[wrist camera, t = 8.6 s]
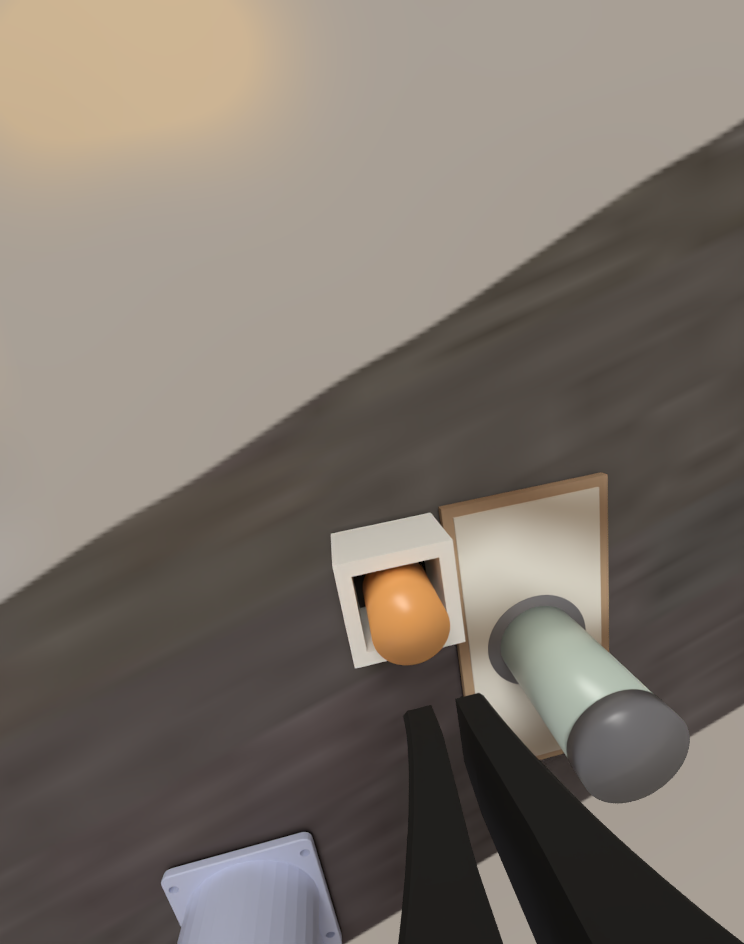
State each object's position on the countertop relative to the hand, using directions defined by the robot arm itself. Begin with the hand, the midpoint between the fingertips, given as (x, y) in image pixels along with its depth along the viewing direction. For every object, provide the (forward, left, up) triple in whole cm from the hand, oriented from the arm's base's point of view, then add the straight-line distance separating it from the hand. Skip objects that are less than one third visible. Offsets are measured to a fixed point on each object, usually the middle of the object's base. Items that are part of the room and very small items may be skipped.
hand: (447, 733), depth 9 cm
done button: (0, 0, -7) cm, 7 cm away
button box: (0, 0, -8) cm, 8 cm away
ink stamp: (-6, -7, -8) cm, 12 cm away
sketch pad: (-6, -7, -8) cm, 12 cm away
